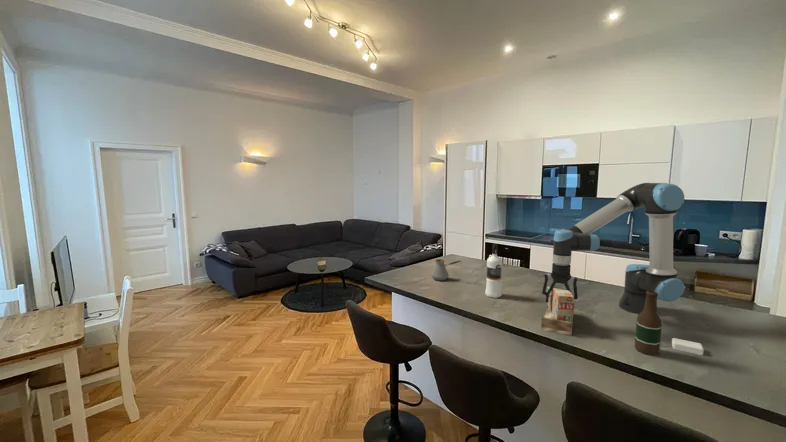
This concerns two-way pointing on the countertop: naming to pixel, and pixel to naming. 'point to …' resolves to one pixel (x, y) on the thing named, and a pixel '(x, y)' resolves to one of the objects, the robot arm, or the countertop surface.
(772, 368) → the countertop surface
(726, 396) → the countertop surface
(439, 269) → the coffee pot
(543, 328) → the cradle
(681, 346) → the soap
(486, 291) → the vodka
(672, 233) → the robot arm
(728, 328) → the countertop surface
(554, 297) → the stack of blocks
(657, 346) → the beer bottle
